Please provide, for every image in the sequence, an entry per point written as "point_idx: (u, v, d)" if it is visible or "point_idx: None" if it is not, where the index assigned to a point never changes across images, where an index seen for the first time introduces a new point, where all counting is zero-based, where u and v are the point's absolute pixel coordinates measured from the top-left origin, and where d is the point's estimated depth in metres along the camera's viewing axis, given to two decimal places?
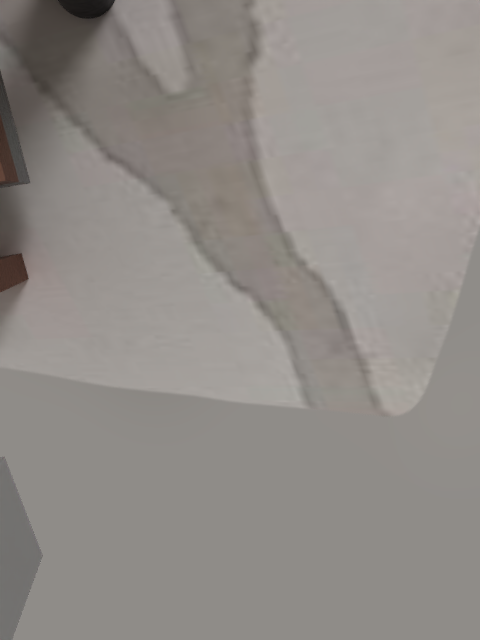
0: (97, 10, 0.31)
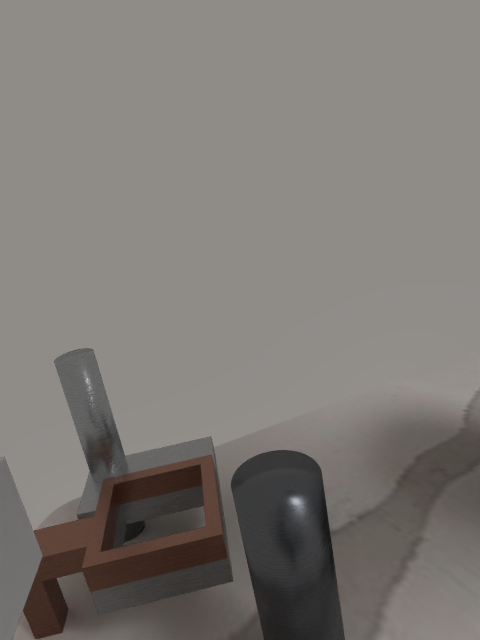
0: None
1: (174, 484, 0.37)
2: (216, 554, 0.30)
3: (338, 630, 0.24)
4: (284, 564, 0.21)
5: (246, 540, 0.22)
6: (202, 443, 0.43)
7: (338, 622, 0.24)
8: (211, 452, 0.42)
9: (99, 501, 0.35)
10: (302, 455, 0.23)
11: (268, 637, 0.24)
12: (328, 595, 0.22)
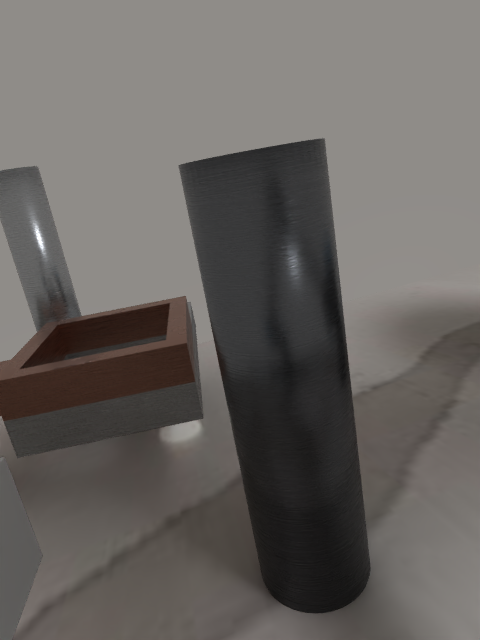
0: (262, 568, 0.18)
1: (136, 329, 0.29)
2: (179, 374, 0.22)
3: (349, 422, 0.15)
4: (260, 269, 0.13)
5: (201, 248, 0.14)
6: None
7: (349, 409, 0.15)
8: (188, 311, 0.33)
9: (34, 336, 0.27)
10: None
11: (240, 432, 0.15)
12: (333, 348, 0.14)
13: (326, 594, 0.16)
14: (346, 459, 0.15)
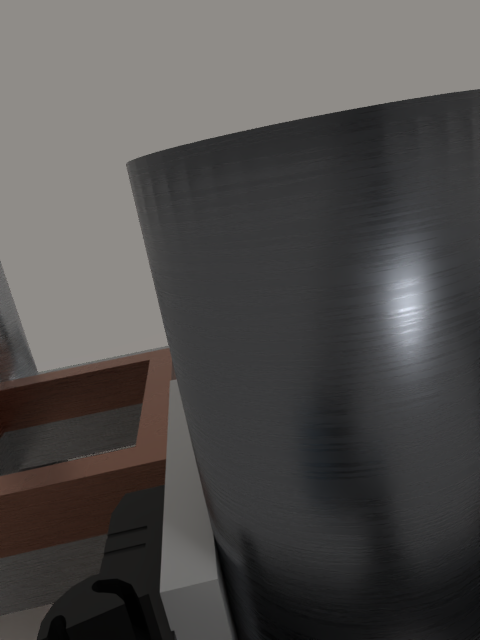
0: None
1: (103, 397, 0.21)
2: None
3: None
4: (349, 456, 0.04)
5: (185, 373, 0.05)
6: None
7: None
8: None
9: None
10: None
11: None
12: None
13: None
14: None
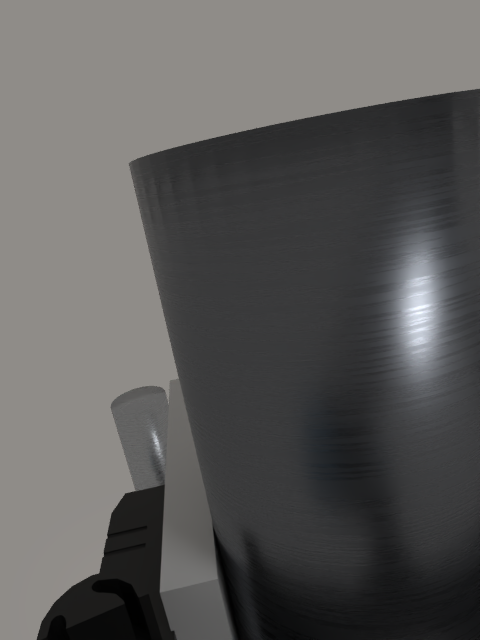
0: None
1: None
2: None
3: None
4: (355, 456, 0.04)
5: (188, 374, 0.05)
6: None
7: None
8: None
9: None
10: None
11: None
12: None
13: None
14: None
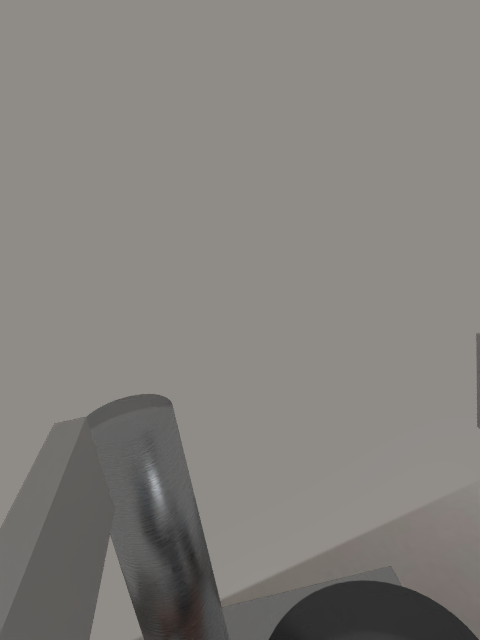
0: None
1: None
2: None
3: None
4: None
5: None
6: None
7: None
8: None
9: None
10: (427, 603, 0.10)
11: None
12: None
13: None
14: None
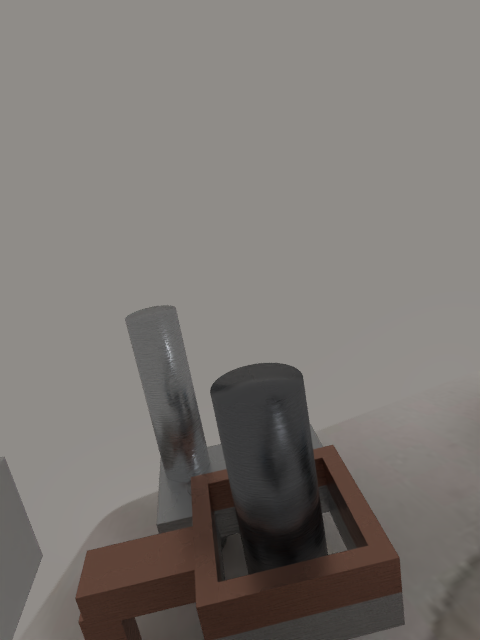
0: None
1: None
2: (387, 586, 0.20)
3: (321, 546, 0.23)
4: (263, 467, 0.20)
5: (225, 446, 0.21)
6: None
7: (321, 538, 0.23)
8: (318, 443, 0.32)
9: (194, 507, 0.25)
10: (284, 365, 0.23)
11: (249, 553, 0.23)
12: (309, 505, 0.22)
13: None
14: None
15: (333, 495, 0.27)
